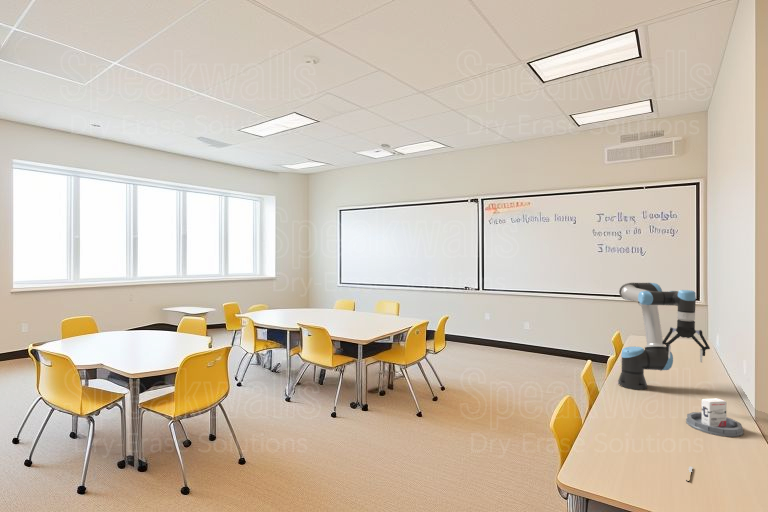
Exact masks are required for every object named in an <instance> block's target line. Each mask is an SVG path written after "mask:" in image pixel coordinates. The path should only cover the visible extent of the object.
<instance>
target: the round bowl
mask: <svg viewBox="0 0 768 512" xmlns="http://www.w3.org/2000/svg"><path fill="white" fill-rule="evenodd" d="M685 423H686V424H687V425H688V426H689V427H691V428H693V429H695V430H697V431H700V432H702V433H705V434H706V433H707V434H709V435H712V436H713V435H715V436H718V437H727V438H737V437H740V436H741V437H742V436H743V434H744V430H743V428H744V427H743V425H742V423H740V422H739V421H737V420H735V419H733V418H731V417H727V416H726V426H720V427H713V426H709V425H706V424H703V423H702V411H700V412H699V411H697V412H696V411H695V412H694V411H693V412H690V413H687V414H686V419H685Z"/></svg>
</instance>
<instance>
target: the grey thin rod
mask: <svg viewBox="0 0 768 512" xmlns="http://www.w3.org/2000/svg"><path fill="white" fill-rule="evenodd" d="M692 469H693V470H694V467H693V466H690V465H689V466H688V470H689V472H692V473H693V471H692ZM688 470H687V471H688Z"/></svg>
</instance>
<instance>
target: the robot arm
mask: <svg viewBox="0 0 768 512" xmlns="http://www.w3.org/2000/svg"><path fill="white" fill-rule="evenodd" d="M618 293H619V296H620V297H621V298H622V299H623V300H626V301H632V302H637V304H638V306H640V308H641V313H642V318H643V319H642V320H643V326H644V332H645V340H646V345H645V346H644V348H643V346H642V347H641V346H626V347H624V348H622V349H621V357H620V358H621V372H620V375H619V378H618V380H617V383H618V384H617V385H619V384H620V385H622V386H624V387H623V388H625V387H628V388H627V389H629V388H634V389H633V390H636V389H643V390H646V389H647V388H648V383H647V381H646V380H647V379H646V377H645V373H644V372H645V371H644V370H651V371H660V372H661V371H669V370H670V369H671V368H672V366H673V363H674V355H673V353H672V350H671V345H672V343H674V342H675V341H676V340H677V339H679V338H680V337H681V338H686V339H692V340H694V342H695V343H696V344H697V345H698V346H699V347H700V349H699V350H700V351H699V354H700V355H699V362H700V363H703V357H705V356H706V351H707V350H710V349H711V348H710V346H709V344H708V341H707V340H706V338H705V337H704V334H703V331H702V329H699V330H698V329H697V330H696V328H695V327H696V321H695V320H696V299H697V296H696V292H695V290H689V289H680V290H669V291H663V290H662V288H661V286H660V285H659V284H658V283H655V282H627V283H625V284H623V285H621V286H620V288H619V290H618ZM659 306H677V312H676V313H677V321H676V322H677V323H676V324H677V325H676V328H674V327H672V326H670V327H669V331H668V333H667V334H666V336H665V338H663V333H662V327H661V320H660V313H659V308H658V307H659ZM675 332H676V333H677V334H676V333H675ZM673 333H675V335H674V336H673V337H672V338H671V339H669V338H670V337H671V335H672V334H673ZM695 334H697V335H699V337H700V338H701V340H702V342H703V344H702V343H701V342H700V340H699V339H698V338H697V337H696V336H695ZM620 385H619V386H620ZM622 386H621V387H622Z"/></svg>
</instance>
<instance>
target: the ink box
mask: <svg viewBox="0 0 768 512" xmlns="http://www.w3.org/2000/svg"><path fill="white" fill-rule="evenodd" d="M701 412H702V423H703V424H706V425H709V426H713V427H720V426H726V417H727V401H726V400H723V399H720V398H716V397H714V398H702V399H701Z"/></svg>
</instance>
